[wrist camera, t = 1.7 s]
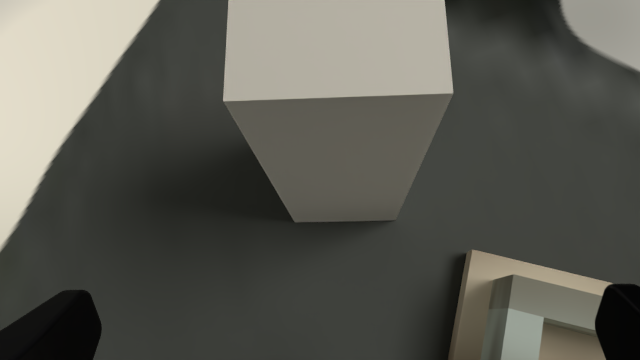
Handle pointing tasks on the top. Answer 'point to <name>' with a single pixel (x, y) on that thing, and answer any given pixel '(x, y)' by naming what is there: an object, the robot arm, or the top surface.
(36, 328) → the robot arm
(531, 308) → the jig
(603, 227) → the top surface
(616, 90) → the top surface
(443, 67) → the fuselage block
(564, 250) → the top surface
